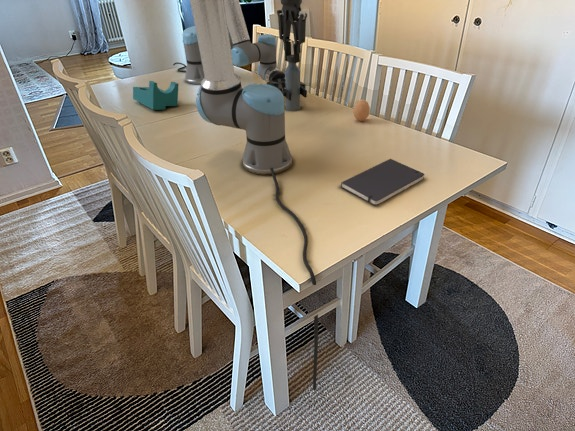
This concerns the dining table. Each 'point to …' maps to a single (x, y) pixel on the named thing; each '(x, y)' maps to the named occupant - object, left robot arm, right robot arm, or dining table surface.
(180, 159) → the dining table surface
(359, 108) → the egg
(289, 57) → the cap
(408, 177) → the notebook
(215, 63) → the right robot arm
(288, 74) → the bottle
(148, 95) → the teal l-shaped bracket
